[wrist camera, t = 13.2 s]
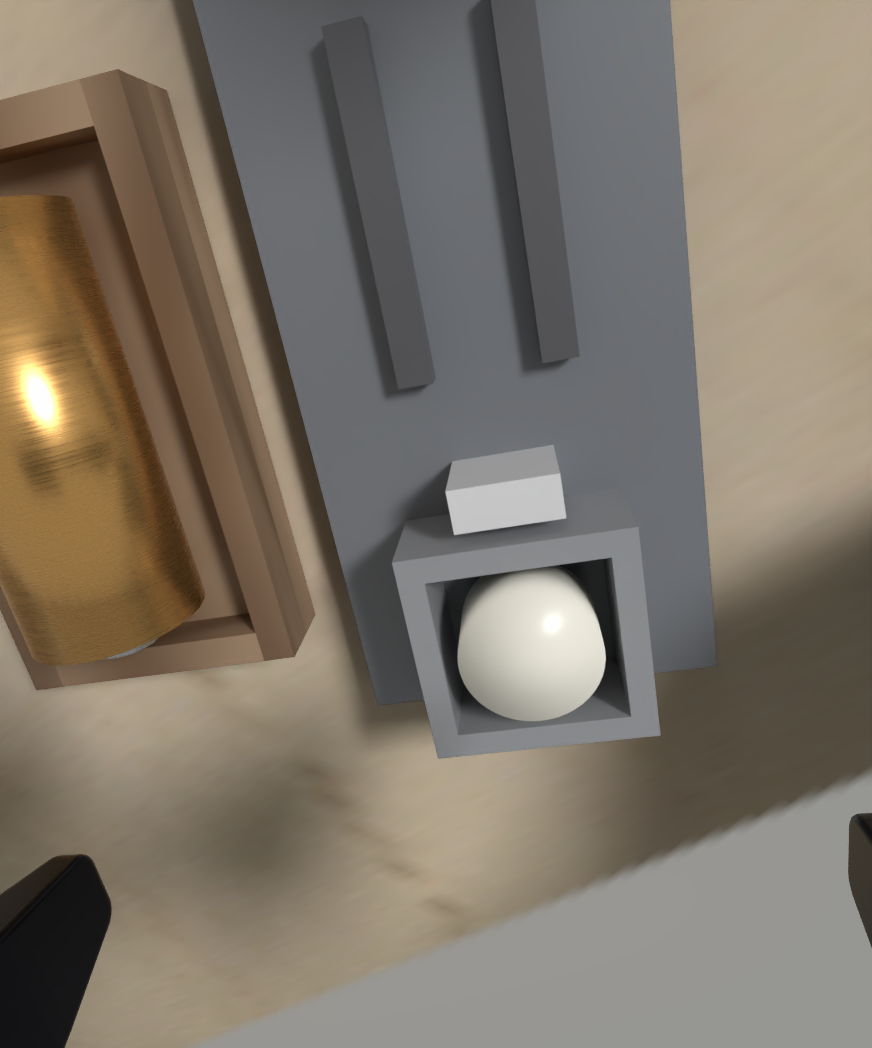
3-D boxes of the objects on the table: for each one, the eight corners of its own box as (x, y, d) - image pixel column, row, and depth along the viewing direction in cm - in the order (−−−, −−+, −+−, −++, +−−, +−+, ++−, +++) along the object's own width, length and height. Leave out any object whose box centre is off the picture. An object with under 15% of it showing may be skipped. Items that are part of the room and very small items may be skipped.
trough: (166, 90, 16) (117, 69, 14) (315, 614, 20) (294, 656, 18) (-120, 164, 17) (-205, 154, 15) (80, 646, 22) (36, 690, 20)
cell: (108, 200, 16) (-10, 189, 12) (235, 592, 19) (171, 677, 16) (-53, 238, 17) (-214, 239, 13) (96, 612, 20) (3, 698, 16)
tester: (643, -195, 14) (687, -330, 10) (707, 646, 20) (747, 726, 17) (191, -64, 15) (104, -148, 12) (383, 684, 21) (361, 766, 18)
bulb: (587, 549, 17) (596, 584, 15) (603, 668, 18) (613, 713, 16) (450, 568, 17) (444, 604, 16) (474, 683, 18) (471, 728, 17)
